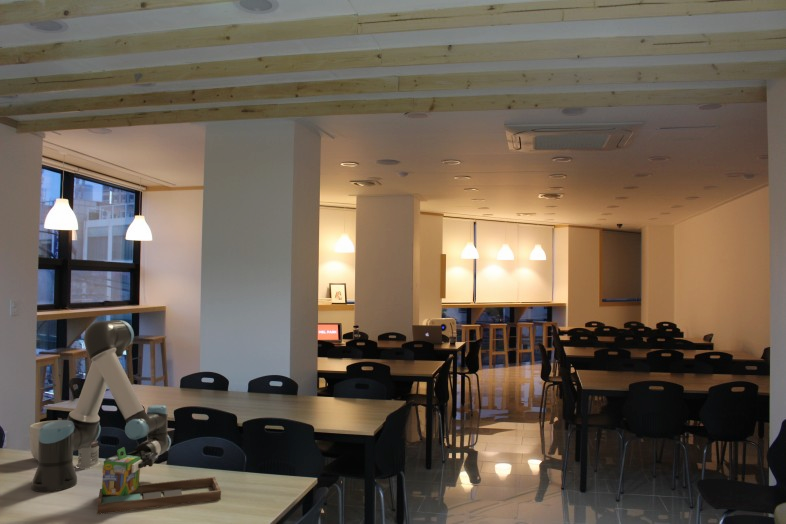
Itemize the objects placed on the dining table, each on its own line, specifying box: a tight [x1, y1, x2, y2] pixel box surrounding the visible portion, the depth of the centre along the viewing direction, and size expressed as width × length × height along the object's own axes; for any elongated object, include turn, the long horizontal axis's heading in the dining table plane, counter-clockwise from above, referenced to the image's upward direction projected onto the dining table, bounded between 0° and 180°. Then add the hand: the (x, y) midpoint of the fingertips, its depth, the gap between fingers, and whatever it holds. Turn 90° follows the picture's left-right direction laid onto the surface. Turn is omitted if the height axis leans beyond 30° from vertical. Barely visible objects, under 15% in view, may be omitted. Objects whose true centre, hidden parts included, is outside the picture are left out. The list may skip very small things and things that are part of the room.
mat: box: [102, 493, 142, 504], centre depth 211 cm, size 14×12×1 cm
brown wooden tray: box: [96, 476, 222, 515], centre depth 216 cm, size 18×40×3 cm, turn 113°
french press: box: [75, 439, 101, 469], centre depth 257 cm, size 10×12×25 cm
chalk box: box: [101, 446, 141, 496], centre depth 210 cm, size 9×9×15 cm
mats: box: [142, 489, 183, 499], centre depth 216 cm, size 14×13×1 cm
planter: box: [29, 419, 60, 461], centre depth 265 cm, size 17×17×15 cm
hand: (118, 468), depth 207 cm, fingers closed on chalk box, 10 cm apart
